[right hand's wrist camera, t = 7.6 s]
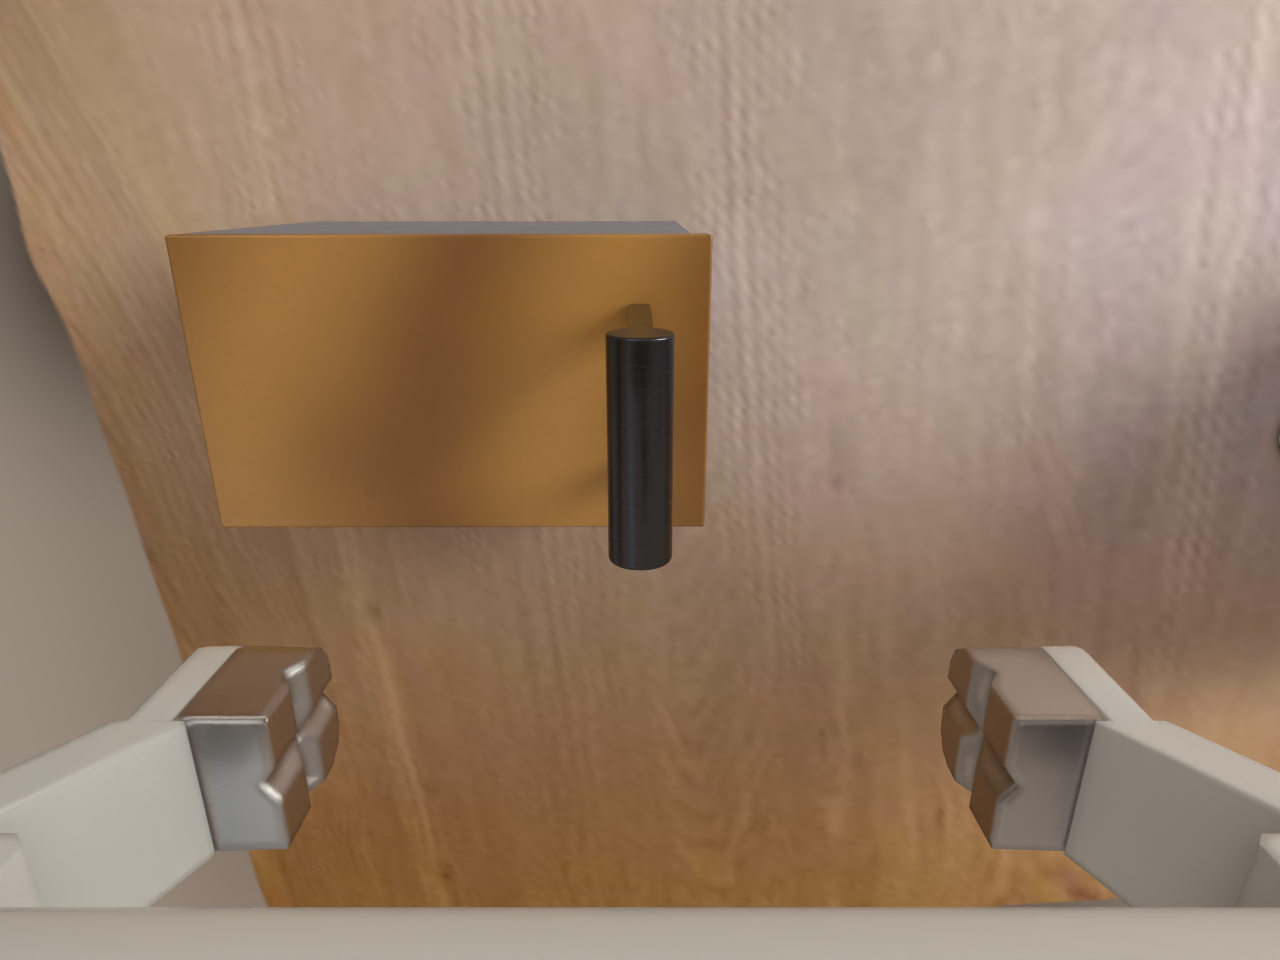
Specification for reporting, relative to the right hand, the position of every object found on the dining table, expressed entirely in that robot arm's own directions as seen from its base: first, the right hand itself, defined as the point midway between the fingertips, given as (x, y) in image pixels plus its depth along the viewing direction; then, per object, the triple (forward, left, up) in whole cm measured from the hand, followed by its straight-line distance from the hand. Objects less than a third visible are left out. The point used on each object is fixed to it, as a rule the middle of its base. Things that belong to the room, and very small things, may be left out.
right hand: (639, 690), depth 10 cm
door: (+3, +5, -18) cm, 19 cm away
